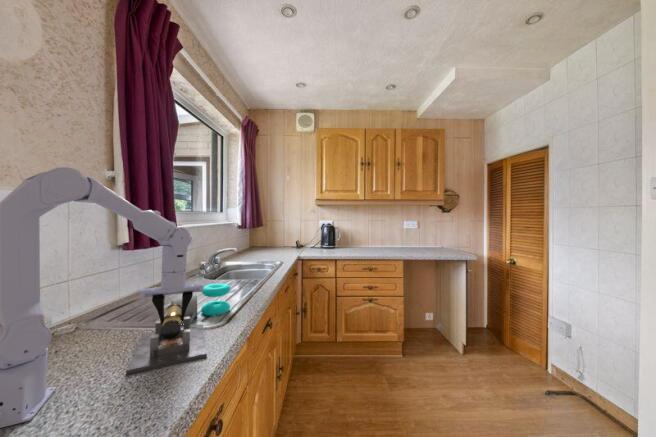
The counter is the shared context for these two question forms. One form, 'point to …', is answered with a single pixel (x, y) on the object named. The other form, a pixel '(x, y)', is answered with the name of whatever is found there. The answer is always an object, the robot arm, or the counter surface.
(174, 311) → the brass tube
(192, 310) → the ceramic mug
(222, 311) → the donuts
